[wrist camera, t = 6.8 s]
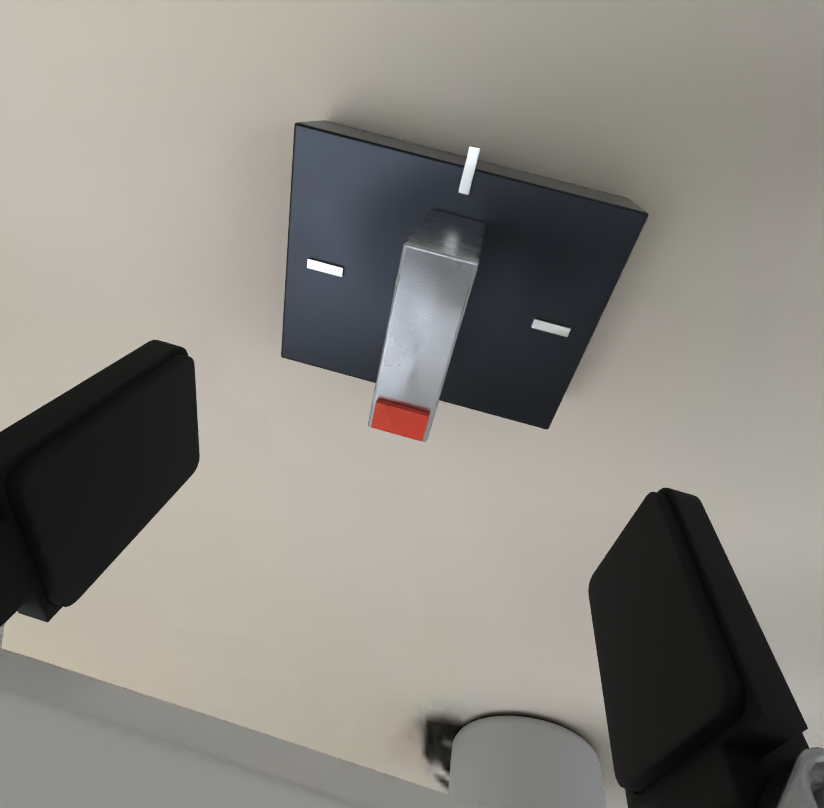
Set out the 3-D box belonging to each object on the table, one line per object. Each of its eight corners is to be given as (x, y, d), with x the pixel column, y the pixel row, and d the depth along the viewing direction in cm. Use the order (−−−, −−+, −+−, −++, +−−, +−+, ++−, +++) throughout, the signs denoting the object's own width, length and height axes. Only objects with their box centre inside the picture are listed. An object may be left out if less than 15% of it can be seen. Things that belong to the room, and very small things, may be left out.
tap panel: (637, 181, 17) (660, 194, 15) (539, 405, 23) (543, 443, 20) (324, 101, 18) (293, 100, 15) (303, 341, 23) (277, 371, 21)
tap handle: (430, 207, 16) (401, 244, 12) (486, 222, 16) (478, 265, 12) (397, 358, 19) (365, 431, 15) (443, 371, 19) (425, 447, 15)
